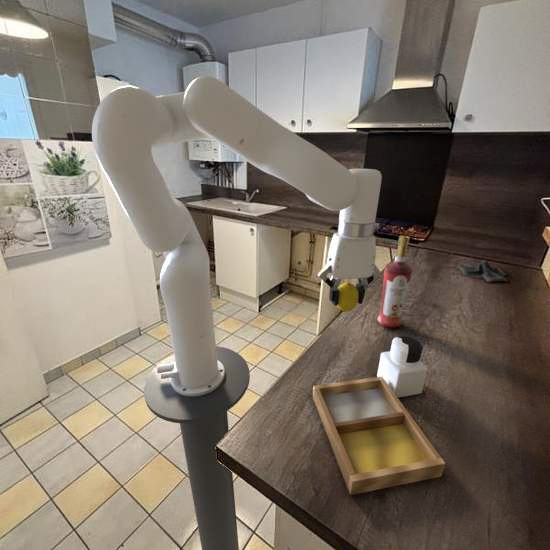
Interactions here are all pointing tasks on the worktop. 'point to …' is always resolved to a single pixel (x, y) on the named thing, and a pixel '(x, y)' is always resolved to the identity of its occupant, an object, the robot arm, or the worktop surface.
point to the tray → (374, 436)
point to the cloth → (483, 271)
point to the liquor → (395, 286)
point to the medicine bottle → (403, 367)
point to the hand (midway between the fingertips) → (346, 301)
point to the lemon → (347, 297)
